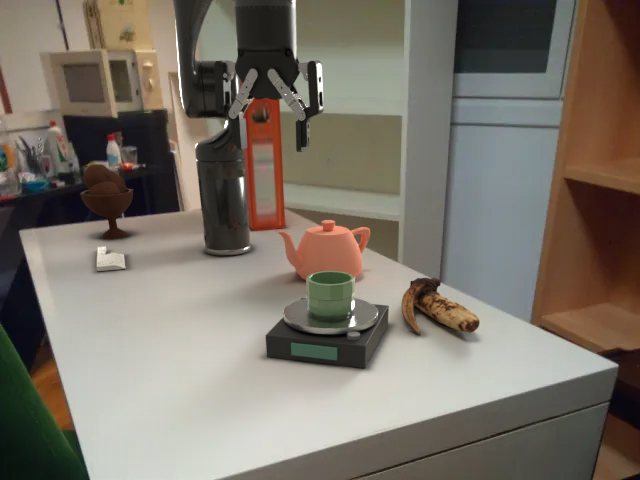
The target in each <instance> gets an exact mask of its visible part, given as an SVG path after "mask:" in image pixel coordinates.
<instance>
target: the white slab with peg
mask: <svg viewBox="0 0 640 480" xmlns="http://www.w3.org/2000/svg"><path fill="white" fill-rule="evenodd" d="M107 249H108V248H107V246H105V245H104V246H97V254H96V260H95V261H96V262H95V263H96V271H97V272H102V271H103V272H104V271H114V270H115V271H116V270H125V269H126V261H125V254H124V253H117V252H112V251H110V253H107V251H108V250H107Z"/></svg>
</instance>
